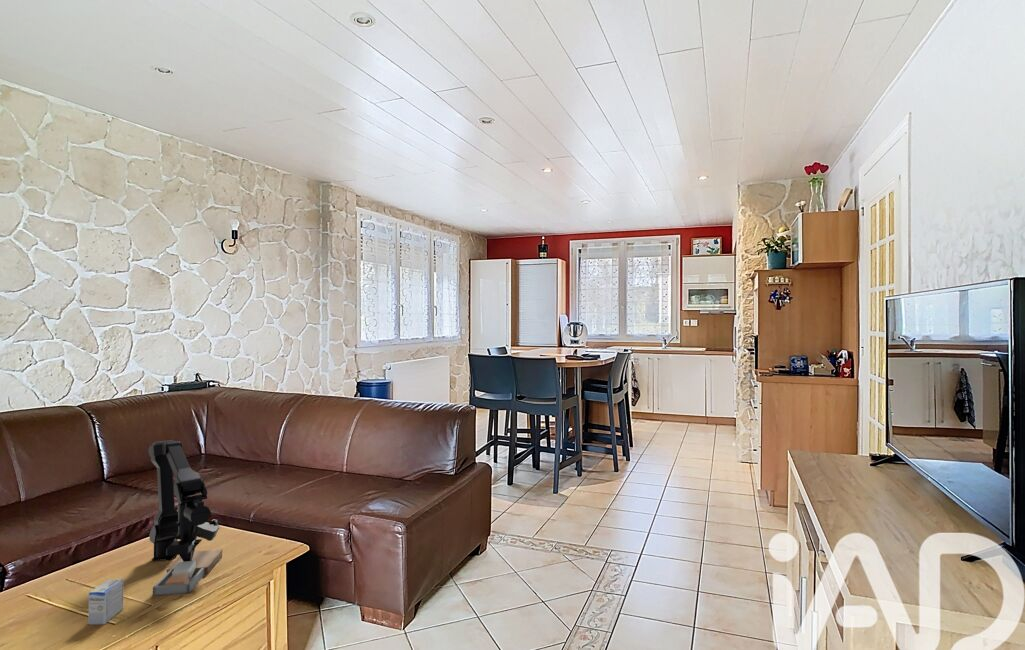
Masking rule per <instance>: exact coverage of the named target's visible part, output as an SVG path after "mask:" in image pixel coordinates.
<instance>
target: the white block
mask: <svg viewBox="0 0 1025 650" xmlns="http://www.w3.org/2000/svg"><path fill="white" fill-rule="evenodd" d="M195 569H196V562H195V561H186V562H178V563H177V565H176V567H175V568H174V570H173V572H172V575H183V574H189V578H191V577H192V575H193V573H194V571H195Z"/></svg>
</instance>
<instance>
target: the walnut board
mask: <svg viewBox="0 0 1025 650" xmlns="http://www.w3.org/2000/svg"><path fill="white" fill-rule="evenodd" d="M222 558H223V549H213V550H212V549H210V550H195V551H194V555H193V558H192V561H195V562H196V569H195V571H194V573H193V575H196V574H197V573H198V572H199V570H200V569H201V568H204V576H208V575H209V574H210V573H211V571H212V570H213V569H214V568H215V567H216V565H217V564H218V563H219V562H220V561H221V559H222ZM178 562H183V560H182V558H181V557H180V556H179V557H177V559H176V560H175V561H174V562H173V563H172V564H171V565H170V566H168V568H167V569H166V573H167V572H168V571H169V570H174V568H175V567H176V565H177V563H178Z"/></svg>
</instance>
